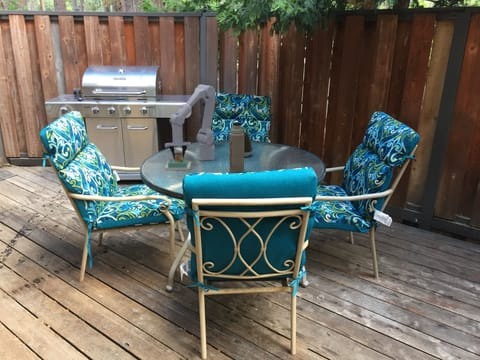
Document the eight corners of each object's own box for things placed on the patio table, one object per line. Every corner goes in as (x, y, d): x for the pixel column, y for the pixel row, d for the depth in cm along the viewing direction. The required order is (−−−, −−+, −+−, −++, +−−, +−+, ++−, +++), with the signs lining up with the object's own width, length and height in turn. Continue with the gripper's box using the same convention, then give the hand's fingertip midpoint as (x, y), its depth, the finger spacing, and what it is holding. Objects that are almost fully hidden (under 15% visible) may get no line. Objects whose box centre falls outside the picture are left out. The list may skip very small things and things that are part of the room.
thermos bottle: (229, 175, 222) (229, 124, 212) (229, 170, 229) (229, 121, 219) (244, 175, 222) (245, 124, 213) (243, 170, 230) (243, 121, 220)
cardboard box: (182, 160, 241) (181, 152, 239) (183, 163, 235) (182, 155, 234) (174, 161, 240) (174, 152, 238) (175, 164, 234) (174, 155, 233)
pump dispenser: (237, 158, 251) (237, 134, 246) (234, 153, 261) (234, 130, 255) (253, 157, 253) (254, 133, 248) (250, 153, 263) (250, 129, 257)
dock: (191, 163, 241) (191, 156, 240) (190, 170, 230) (189, 163, 229) (167, 163, 240) (167, 157, 239) (164, 170, 229) (164, 163, 228)
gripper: (189, 133, 237) (190, 155, 242) (164, 134, 234) (165, 157, 239) (191, 136, 231) (191, 159, 236) (165, 137, 228) (166, 160, 232)
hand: (178, 158), depth 237 cm, fingers closed on cardboard box, 4 cm apart
